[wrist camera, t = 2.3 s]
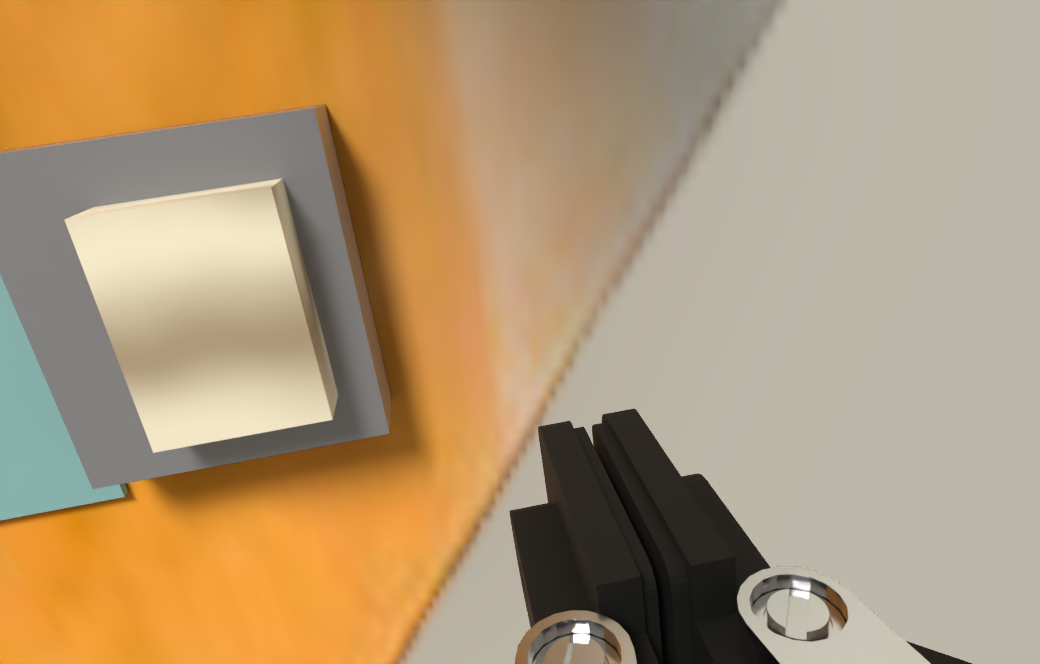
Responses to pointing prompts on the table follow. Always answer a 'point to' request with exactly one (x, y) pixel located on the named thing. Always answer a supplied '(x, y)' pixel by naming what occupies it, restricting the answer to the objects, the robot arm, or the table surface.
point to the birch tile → (209, 312)
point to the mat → (35, 434)
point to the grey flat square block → (163, 172)
